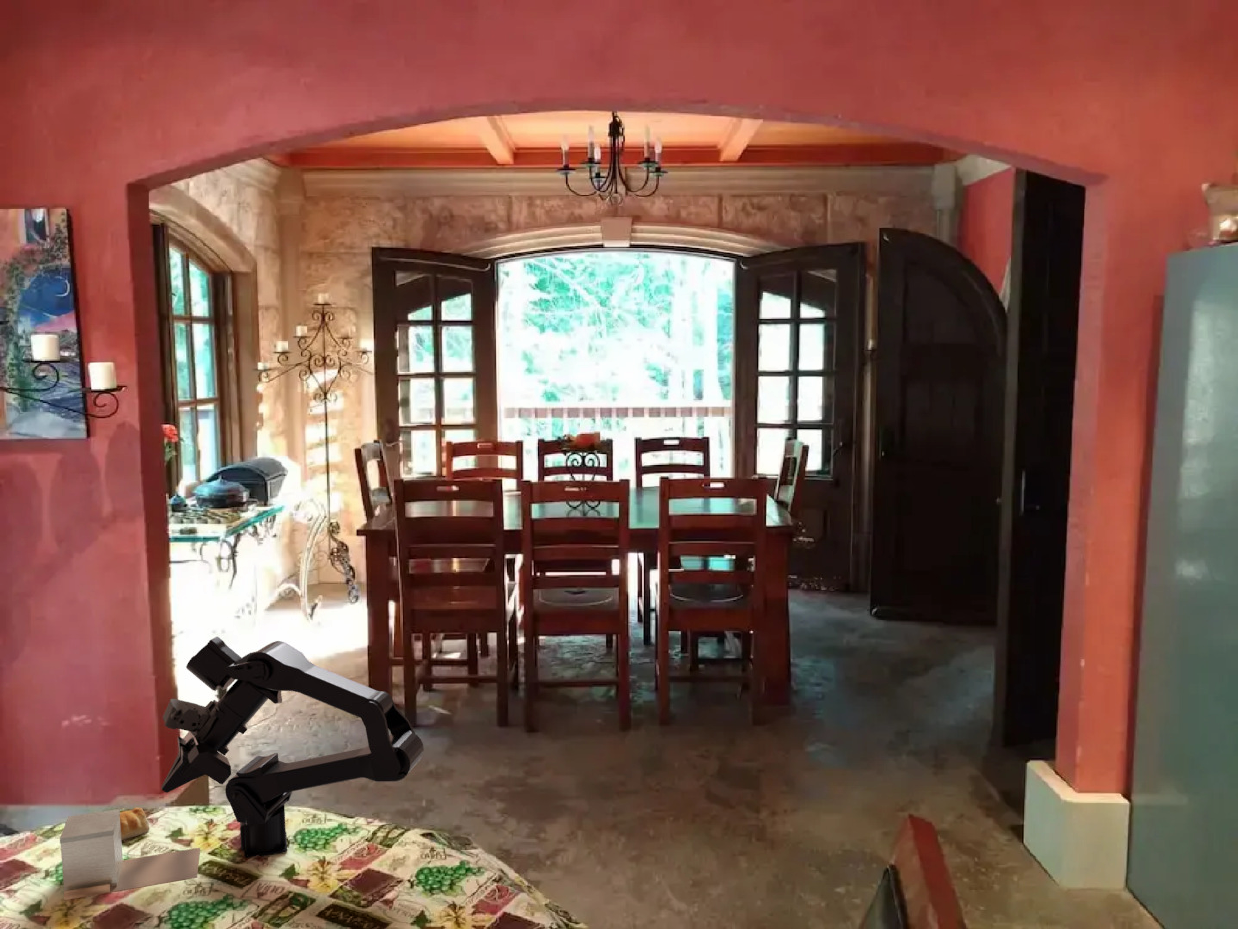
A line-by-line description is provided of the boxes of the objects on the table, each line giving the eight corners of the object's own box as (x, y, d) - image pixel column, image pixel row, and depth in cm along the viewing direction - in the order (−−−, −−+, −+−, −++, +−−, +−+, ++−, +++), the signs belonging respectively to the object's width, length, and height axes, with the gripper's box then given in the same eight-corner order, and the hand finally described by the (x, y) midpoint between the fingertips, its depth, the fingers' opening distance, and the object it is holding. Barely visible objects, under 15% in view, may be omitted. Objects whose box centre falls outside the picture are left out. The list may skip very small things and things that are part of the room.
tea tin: (123, 863, 155) (119, 809, 153) (117, 886, 148) (113, 830, 147) (72, 871, 152) (68, 816, 151) (64, 895, 146) (59, 838, 144)
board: (200, 850, 159) (199, 841, 159) (197, 879, 151) (196, 871, 150) (75, 870, 153) (74, 862, 153) (64, 902, 144) (63, 894, 144)
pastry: (92, 855, 158) (90, 832, 158) (79, 840, 163) (77, 818, 163) (153, 834, 165) (151, 813, 164) (138, 821, 170) (137, 800, 169)
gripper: (186, 663, 161) (115, 741, 157) (204, 702, 145) (125, 789, 141) (239, 700, 166) (172, 776, 162) (262, 741, 150) (187, 827, 146)
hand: (163, 790), depth 153 cm, fingers closed
